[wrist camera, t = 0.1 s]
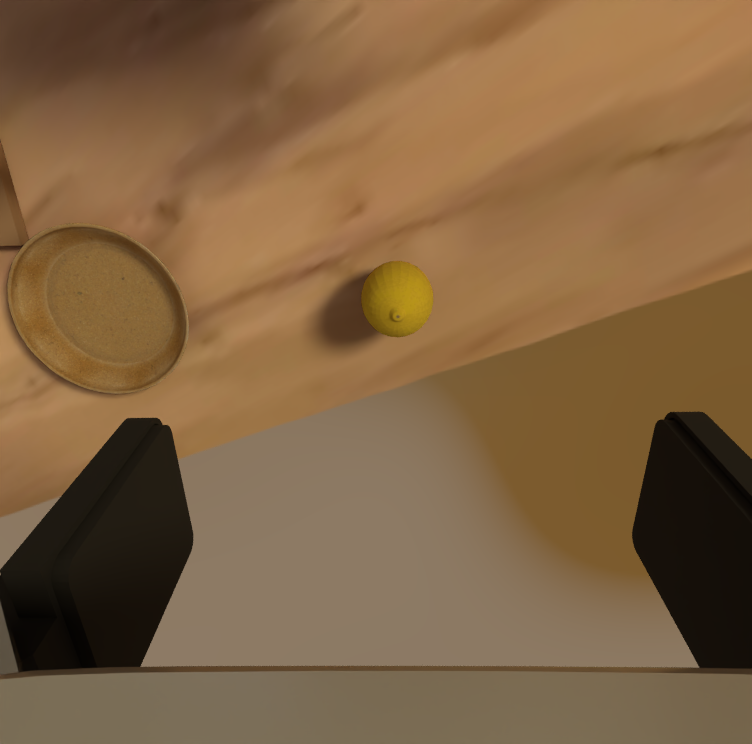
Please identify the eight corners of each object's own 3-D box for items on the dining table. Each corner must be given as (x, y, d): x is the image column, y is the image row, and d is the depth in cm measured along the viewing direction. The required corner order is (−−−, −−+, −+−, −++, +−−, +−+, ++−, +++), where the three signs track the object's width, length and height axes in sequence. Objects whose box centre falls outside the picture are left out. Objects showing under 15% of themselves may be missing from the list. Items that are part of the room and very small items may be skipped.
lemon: (372, 321, 49) (369, 359, 42) (356, 259, 46) (350, 288, 39) (435, 307, 48) (443, 343, 41) (422, 243, 46) (428, 270, 39)
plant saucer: (37, 370, 52) (20, 383, 49) (12, 206, 45) (-9, 211, 43) (199, 389, 52) (190, 403, 50) (196, 229, 46) (186, 236, 44)
